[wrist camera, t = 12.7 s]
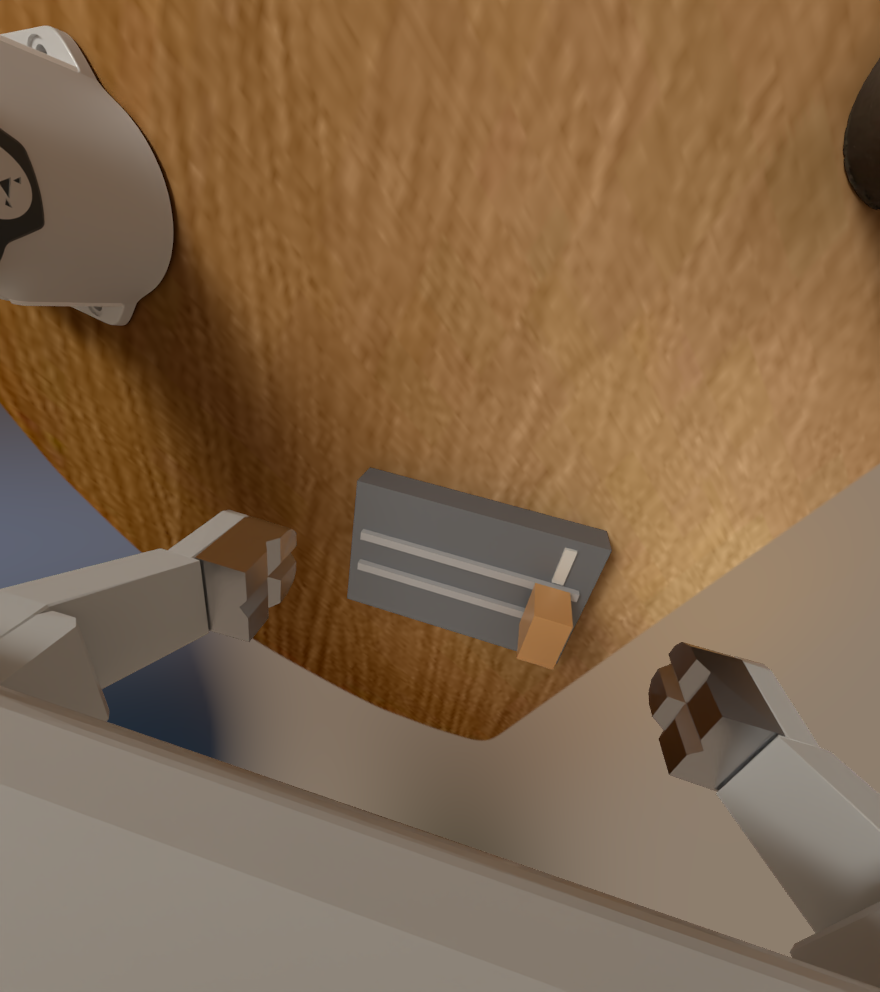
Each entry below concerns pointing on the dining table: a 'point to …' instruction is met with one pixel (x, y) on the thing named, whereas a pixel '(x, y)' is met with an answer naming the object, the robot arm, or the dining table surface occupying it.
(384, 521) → the fader console
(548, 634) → the fader tab
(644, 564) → the dining table surface
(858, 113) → the pillar candle
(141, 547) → the dining table surface
